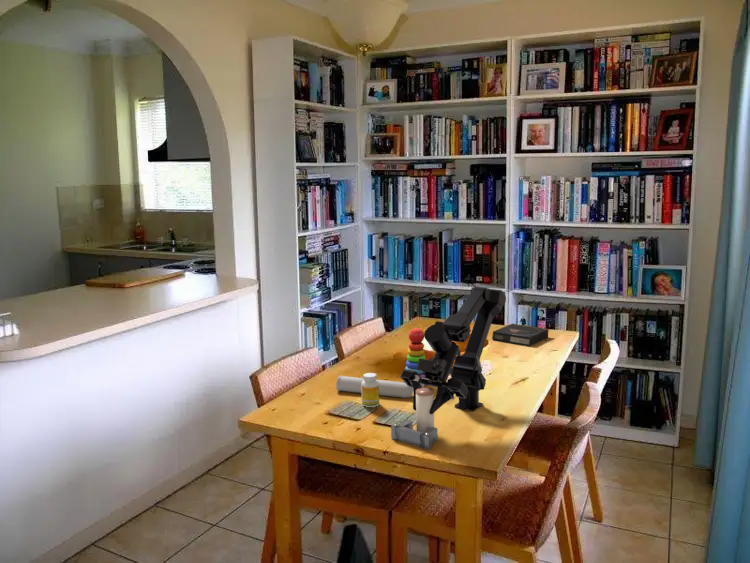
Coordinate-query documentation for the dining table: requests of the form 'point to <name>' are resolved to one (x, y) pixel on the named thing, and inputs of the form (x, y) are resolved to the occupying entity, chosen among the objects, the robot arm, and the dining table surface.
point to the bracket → (414, 435)
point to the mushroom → (424, 409)
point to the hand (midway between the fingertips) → (422, 411)
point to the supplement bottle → (370, 390)
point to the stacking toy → (415, 350)
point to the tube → (384, 387)
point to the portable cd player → (520, 334)
